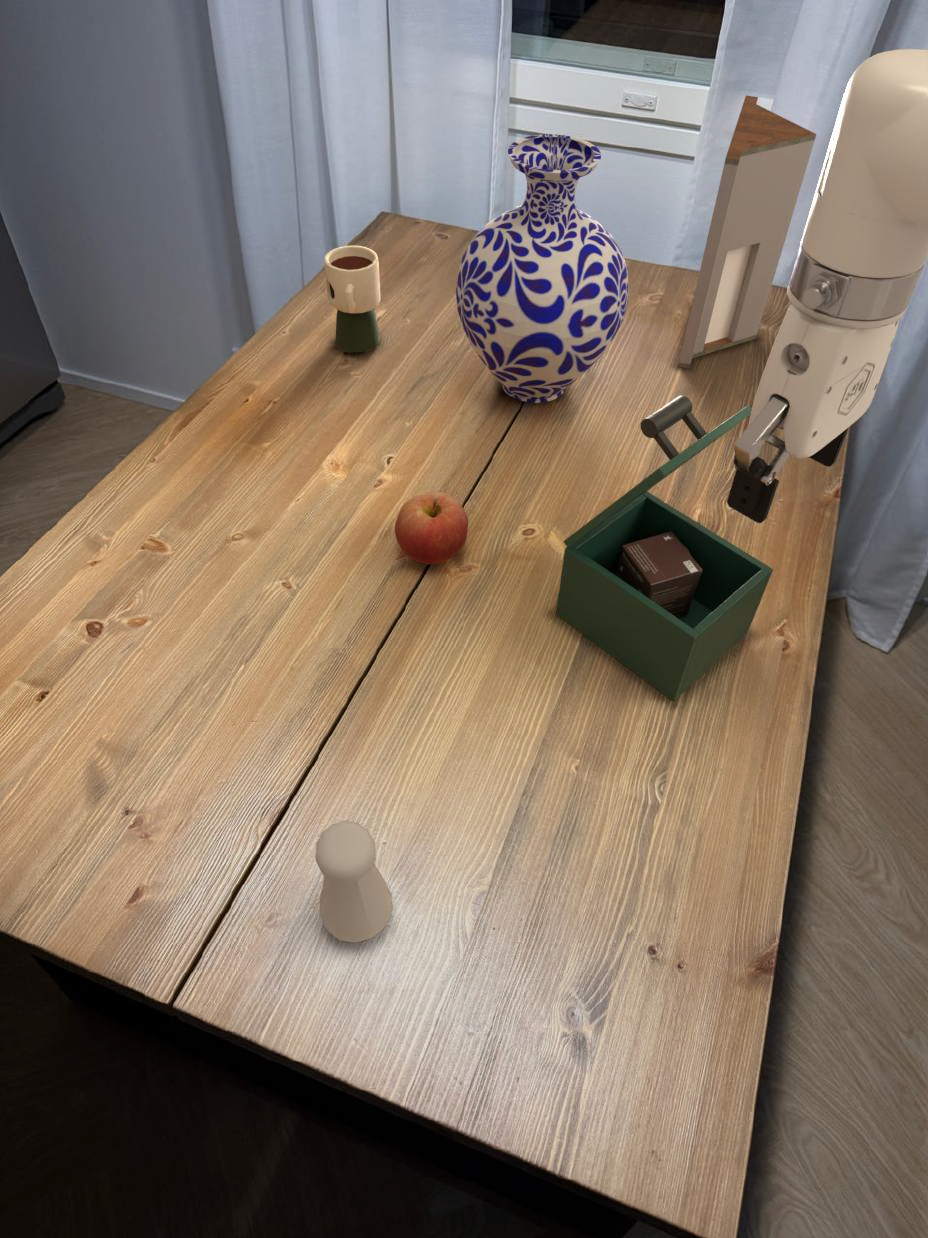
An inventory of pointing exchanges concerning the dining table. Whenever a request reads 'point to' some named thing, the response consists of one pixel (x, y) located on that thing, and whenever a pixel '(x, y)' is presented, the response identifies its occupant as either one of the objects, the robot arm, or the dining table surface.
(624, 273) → the vase
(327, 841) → the salt shaker
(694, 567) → the box
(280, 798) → the dining table surface
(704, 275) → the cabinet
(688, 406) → the lid
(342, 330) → the character mug
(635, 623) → the chest
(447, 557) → the apple
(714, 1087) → the dining table surface
